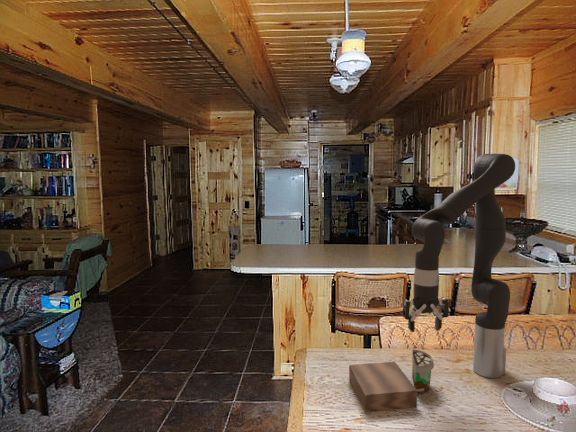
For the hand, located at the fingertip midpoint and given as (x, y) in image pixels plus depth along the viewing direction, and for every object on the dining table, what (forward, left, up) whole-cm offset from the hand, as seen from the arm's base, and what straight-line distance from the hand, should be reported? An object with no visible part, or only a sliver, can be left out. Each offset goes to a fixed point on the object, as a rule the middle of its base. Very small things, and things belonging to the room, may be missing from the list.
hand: (424, 330), depth 134 cm
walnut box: (+15, +2, -20) cm, 25 cm away
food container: (0, 0, -20) cm, 20 cm away
